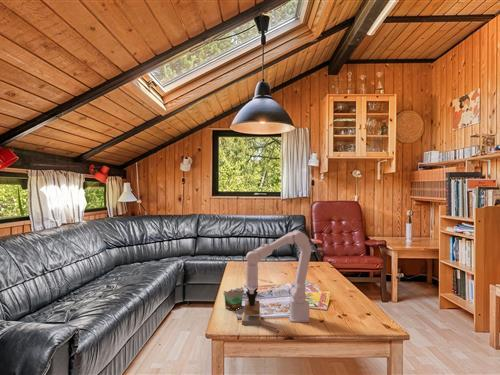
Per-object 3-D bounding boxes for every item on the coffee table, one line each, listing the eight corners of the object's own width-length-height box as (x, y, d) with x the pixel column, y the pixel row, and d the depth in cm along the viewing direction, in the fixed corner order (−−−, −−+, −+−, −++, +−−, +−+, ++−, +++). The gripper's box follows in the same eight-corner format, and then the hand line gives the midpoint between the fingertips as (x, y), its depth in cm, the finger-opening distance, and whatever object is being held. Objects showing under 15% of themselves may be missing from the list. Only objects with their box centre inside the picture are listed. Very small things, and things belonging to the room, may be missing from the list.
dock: (260, 316, 166) (260, 312, 166) (260, 325, 156) (260, 320, 156) (243, 316, 166) (243, 312, 166) (241, 324, 156) (241, 320, 156)
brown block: (259, 310, 163) (259, 300, 163) (259, 314, 158) (259, 304, 158) (245, 310, 164) (245, 300, 164) (245, 314, 159) (244, 304, 159)
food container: (229, 313, 170) (229, 294, 170) (223, 309, 175) (223, 290, 175) (248, 307, 178) (248, 289, 178) (242, 304, 183) (242, 286, 183)
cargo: (256, 301, 163) (256, 297, 163) (256, 303, 159) (256, 299, 159) (248, 301, 163) (248, 297, 163) (248, 304, 159) (247, 300, 159)
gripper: (244, 272, 168) (244, 298, 168) (243, 280, 154) (243, 309, 154) (258, 272, 168) (258, 298, 168) (258, 280, 153) (258, 309, 154)
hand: (252, 303), depth 161 cm, fingers closed on brown block, 5 cm apart
